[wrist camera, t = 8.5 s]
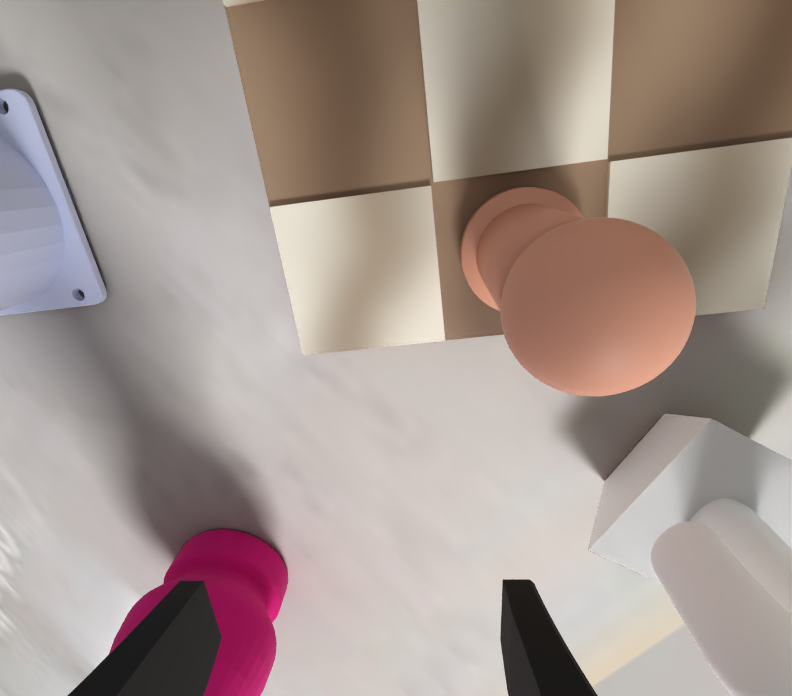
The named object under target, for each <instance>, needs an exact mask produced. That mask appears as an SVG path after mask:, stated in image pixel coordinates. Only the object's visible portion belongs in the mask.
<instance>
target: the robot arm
mask: <svg viewBox="0 0 792 696" xmlns="http://www.w3.org/2000/svg"><path fill="white" fill-rule="evenodd" d="M4 101H6V103H7V104H8V107H9V111H8V113H7V112H6V111H5V109H4V106H3V104H4ZM79 289H80V290H81V291H82V292H83V293H84V296H85V298H83V297H82V296H81V295H80V294H79ZM106 297H107V292H106V288H105V286H104V283H103V281H102V278H101V275H100V273H99V270H98V268H97V265H96V262H95V260H94V257H93V254H92V252H91V249H90V247H89V244H88V241H87V239H86V236H85V234H84V231H83V228H82V226H81V223H80V221H79V218H78V215H77V213H76V210H75V207H74V205H73V202H72V200H71V197H70V194H69V192H68V189H67V187H66V184H65V181H64V179H63V176H62V173H61V171H60V168H59V166H58V163H57V160H56V158H55V155H54V153H53V150H52V147H51V145H50V142H49V140H48V137H47V134H46V132H45V129H44V126H43V124H42V121H41V119H40V116H39V113H38V111H37V108H36V106H35V103H34V101H33V99H32V98H31V97H30V96H29V95H28V94H27V93H26V92H24V91H22V90H18V89H3V90H0V316H3V315H11V314H20V313H29V312H37V311H46V310H54V309H63V308H72V307H80V306H89V305H96V304H98V303H101V302H103V301H104V300H105V299H106ZM221 639H222V637H221V633H220V630H219V627H218V624H217V621H216V617H215V614H214V611H213V608H212V605H211V601H210V598H209V595H208V592H207V589H206V585H205V582H204V581H179V582H178V583H177V584H176V586H175V587H174V588H173V589H172V590H171V591H170V592H169V593H168V594H167V595H166V596H165V597H164V598H163V599H162V600H161V601H160V602H159V603H158V604H157V605H156V606H155V607H154V608H153V609H152V610H151V611H150V612H149V614H148V615H147V616H146V617H145V618H144V619H143V620H142V621H141V622H140V623H139V624H138V625H137V626H136V627H135V628H134V629H133V630H132V631H131V632H130V633H129V635H128V636H127V637H126V638H125V639H124V640H123V641H122V642H121V643H120V644H119V645H118V646H117V647H116V648H115V649H114V650H113V651H112V652H111V653H110V654H109V655H108V656H107V657H106V658H105V659H104V660H103V661H102V662H101V663H100V664H99V665H98V666H97V667H96V668H95V669H94V670H93V671H92V672H91V673H90V674H89V675H88V676H87V677H86V678H85V679H84V680H83V681H82V682H81V683H80V684H79V685H78V686H77V687H76V688H75V689H74V690H73V691H72V692H71V693H70V694H69V695H68V696H203V695H204V693H205V690H206V688H207V685H208V682H209V679H210V675H211V672H212V669H213V666H214V663H215V659H216V656H217V652H218V649H219V646H220V642H221ZM501 647H502V654H503V661H504V669H505V676H506V683H507V690H508V695H509V696H597V694H596V693H595V691H594V689H593V688H592V686H591V685H590V683H589V681H588V680H587V678H586V677H585V675H584V673H583V672H582V670H581V668H580V667H579V665H578V664H577V662H576V660H575V659H574V657H573V655H572V654H571V652H570V650H569V649H568V647H567V645H566V644H565V642H564V640H563V638H562V637H561V635H560V633H559V631H558V629H557V628H556V626H555V624H554V622H553V620H552V619H551V617H550V615H549V613H548V611H547V609H546V607H545V605H544V603H543V601H542V599H541V597H540V595H539V593H538V591H537V589H536V587H535V584H534V583H533V582H532V581H531V580H503V589H502V614H501Z"/></svg>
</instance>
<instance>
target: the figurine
mask: <svg viewBox="0 0 792 696" xmlns="http://www.w3.org/2000/svg"><path fill="white" fill-rule="evenodd" d="M588 551H590V552H592V553H595V554H597V555H599V556H601V557H603V558H606V559H608V560H610V561H612V562H614V563H617V564H619V565H621V566H623V567H625V568H628V569H630V570H632V571H634V572H636V573H639V574H641V575H643V576H645V577H647V578H650V579H652V580H654V581H656V582H658V583H661V584H662V586H663V587H664V589H665V591H666V593H667V594H668V596H669V598H670V599H671V601H672V603H673V605H674V606H675V608H676V610H677V611H678V613H679V615H680V617H681V618H682V620H683V622H684V624H685V625H686V627H687V629H688V630H689V632H690V634H691V636H692V637H693V639H694V640H695V643H696V644H697V646H698V647H699V649H700V651H701V653H702V654H703V656H704V657H705V659H706V661H707V662H708V664H709V665H710V667H711V669H712V670H713V672H714V673H715V674H716V676H717V677H718V679H719V680H720V681H721V683H722V684H723V685H724V687H725V688H726V689H727V690H728V692H729V693H730V695H731V696H792V461H791V460H790V459H788V458H786V457H784V456H782V455H780V454H778V453H776V452H774V451H772V450H771V449H769V448H767V447H765V446H763V445H761V444H759V443H757V442H755V441H753V440H752V439H750V438H748V437H746V436H744V435H742V434H740V433H738V432H736V431H734V430H733V429H731V428H729V427H727V426H725V425H723V424H721V423H719V422H717V421H715V420H714V419H711V418H701V417H692V416H683V415H673V414H664V415H663V416H662V417H661V418H660V419H659V420H658V421H657V423H656V424H655V425H654V426H653V427H652V428H651V429H650V431H649V432H648V433H647V434H646V435H645V436H644V437H643V438H642V440H641V441H640V442H639V443H638V444H637V445H636V446H635V447H634V449H633V450H632V451H631V452H630V453H629V454H628V455H627V456H626V458H625V459H624V460H623V461H622V462H621V463H620V464H619V466H618V467H617V468H616V469H615V470H614V471H613V472H612V473H611V475H610V476H609V477H608V478H607V479H606V480H605V481H604V485H603V489H602V493H601V497H600V502H599V506H598V510H597V514H596V518H595V523H594V527H593V531H592V535H591V539H590V544H589V548H588Z"/></svg>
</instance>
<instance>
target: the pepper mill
mask: <svg viewBox="0 0 792 696" xmlns="http://www.w3.org/2000/svg"><path fill="white" fill-rule="evenodd" d="M179 581H204V582H205V585H206V589H207V592H208V595H209V598H210V601H211V605H212V608H213V611H214V614H215V617H216V621H217V624H218V627H219V630H220V633H221V637H222V639H221V642H220V646H219V649H218V652H217V656H216V659H215V663H214V666H213V669H212V672H211V675H210V679H209V682H208V685H207V688H206V690H205V693H204V695H203V696H260V695H261V693H262V692H263V690H264V687H265V685H266V682H267V679H268V677H269V674H270V671H271V669H272V666H273V663H274V660H275V655H276V636H275V631H274V627H273V624H272V622H273V621H274V620H275V619H276V617H277V615H278V613H279V610H280V607H281V604H282V601H283V598H284V595H285V592H286V589H287V584H288V573H287V570H286V566H285V564H284V562H283V560H282V559H281V557H280V555H279V554H278V553H277V552H276V551H275V550H274V549H273V548H272V547H271V546H269V545H268V544H267V543H266V542H264V541H262V540H261V539H259V538H257V537H255V536H252V535H250V534H247V533H245V532H240V531H234V530H227V529H221V530H210V531H207V532H204V533H201V534H198V535H196V536H194V537H193V538H191V539H190V540H189V541H187V542H186V543H185V544H184V546H183V547H182V548H181V550H180V552H179V553H178V555H177V556H176V558H175V560H174V561H173V563H172V564H171V566H170V568H169V569H168V571H167V573H166V575H165V578H164V584H163V585H161V586H159V587H157V588H155V589H153V590H151V591H150V592H148V593H147V594H146V595H144V596H143V597H142V598H141V599H140V600H139V601H138V602H137V603H136V604H135V605H134V606H133V607H132V609H131V610H130V612H129V613H128V615H127V617H126V618H125V620H124V622H123V624H122V626H121V628H120V630H119V631H118V633H117V635H116V637H115V639H114V642H113V644H112V647H111V650H110V653H111V652H112V651H113V650H114V649H115V648H116V647H117V646H118V645H119V644H120V643H121V642H122V641H123V640H124V639H125V638H126V637H127V636H128V635H129V633H130V632H131V631H132V630H133V629H134V628H135V627H136V626H137V625H138V624H139V623H140V622H141V621H142V620H143V619H144V618H145V617H146V616H147V615H148V614H149V612H150V611H151V610H152V609H153V608H154V607H155V606H156V605H157V604H158V603H159V602H160V601H161V600H162V599H163V598H164V597H165V596H166V595H167V594H168V593H169V592H170V591H171V590H172V589H173V588H174V587H175V586H176V584H177V583H178V582H179ZM110 653H109V654H110Z"/></svg>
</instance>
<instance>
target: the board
mask: <svg viewBox="0 0 792 696" xmlns="http://www.w3.org/2000/svg"><path fill="white" fill-rule="evenodd" d="M223 3H224V5H225V9H226V14H227V18H228V23H229V27H230V31H231V36H232V40H233V45H234V49H235V54H236V58H237V63H238V67H239V72H240V76H241V81H242V85H243V89H244V94H245V98H246V103H247V107H248V112H249V116H250V121H251V125H252V130H253V134H254V139H255V143H256V147H257V152H258V156H259V161H260V165H261V170H262V174H263V179H264V183H265V188H266V192H267V197H268V201H269V205H270V212H271V216H272V221H273V225H274V230H275V234H276V239H277V243H278V248H279V252H280V256H281V261H282V265H283V270H284V274H285V279H286V283H287V288H288V292H289V297H290V301H291V305H292V310H293V314H294V319H295V323H296V328H297V332H298V337H299V341H300V346H301V350H302V354H303V355H309V354H319V353H329V352H339V351H349V350H359V349H369V348H379V347H389V346H399V345H409V344H419V343H429V342H439V341H445V340H452V339H462V338H472V337H482V336H492V335H502V334H504V332H503V328H502V324H501V316H500V311H499V310H496V309H494V308H492V307H490V306H488V305H487V304H486V303H484V302H483V301H482V300H481V299H479V298H478V297H477V295H476V294H475V293H474V292H473V291H472V289H471V287H470V286H469V284H468V282H467V279H466V277H465V275H464V272H463V269H462V266H461V260H460V244H461V239H462V235H463V232H464V229H465V227H466V225H467V223H468V221H469V219H470V217H471V216H472V215H473V213H474V212H475V211H476V210H477V209H478V207H479V206H480V205H481V204H483V203H484V202H485V201H486V200H488V199H489V198H491V197H492V196H494V195H496V194H498V193H500V192H502V191H505V190H507V189H511V188H516V187H536V188H542V189H546V190H550V191H553V192H556V193H558V194H560V195H562V196H564V197H565V198H567V199H568V200H569V201H571V202H572V203H573V204H574V205H575V206H576V207H577V209H578V210H579V211H580V213H581V214H582V216H583V218H594V217H607V218H619V219H624V220H628V221H632V222H635V223H637V224H640V225H642V226H645V227H647V228H649V229H651V230H652V231H654V232H656V233H658V234H659V235H660V236H661V237H663V238H664V239H665V240H667V241H668V242H669V243H670V244H671V245H672V246H673V247H674V248H675V249H676V250H677V252H678V253H679V254H680V256H681V257H682V259H683V260H684V262H685V264H686V265H687V267H688V269H689V272H690V274H691V276H692V280H693V284H694V288H695V296H696V314H695V316H698V315H708V314H718V313H728V312H738V311H748V310H758V309H764V308H765V302H766V297H767V292H768V287H769V282H770V276H771V271H772V266H773V261H774V256H775V251H776V245H777V240H778V235H779V230H780V225H781V219H782V214H783V209H784V204H785V199H786V193H787V188H788V183H789V178H790V173H791V167H792V0H223Z"/></svg>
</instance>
